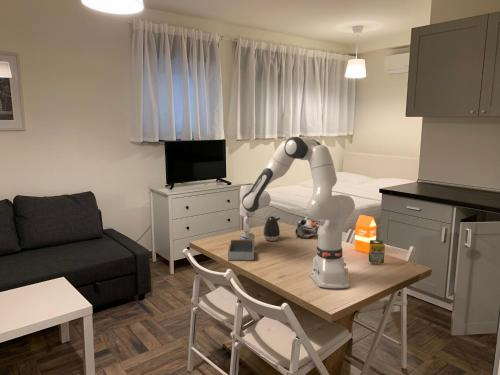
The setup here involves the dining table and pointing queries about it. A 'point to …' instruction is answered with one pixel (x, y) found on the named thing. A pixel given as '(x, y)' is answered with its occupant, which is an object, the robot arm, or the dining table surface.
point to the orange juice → (364, 233)
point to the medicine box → (250, 237)
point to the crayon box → (376, 251)
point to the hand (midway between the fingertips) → (247, 234)
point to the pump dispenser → (271, 229)
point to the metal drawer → (241, 250)
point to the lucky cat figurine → (306, 228)
